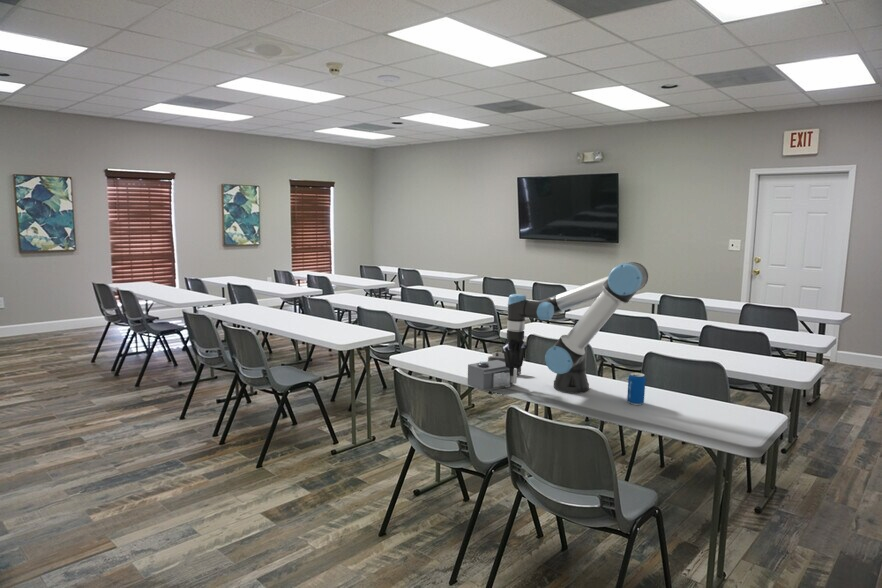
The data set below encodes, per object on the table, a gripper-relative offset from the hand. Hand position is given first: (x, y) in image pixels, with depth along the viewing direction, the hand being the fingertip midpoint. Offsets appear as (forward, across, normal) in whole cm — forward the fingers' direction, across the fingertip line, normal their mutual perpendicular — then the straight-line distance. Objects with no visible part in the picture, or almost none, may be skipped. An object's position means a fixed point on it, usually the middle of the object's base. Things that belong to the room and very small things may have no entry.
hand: (513, 382), depth 247 cm
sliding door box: (+2, +6, -9) cm, 11 cm away
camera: (+3, -13, -21) cm, 25 cm away
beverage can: (+2, -29, +42) cm, 51 cm away
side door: (+1, +6, -1) cm, 6 cm away
